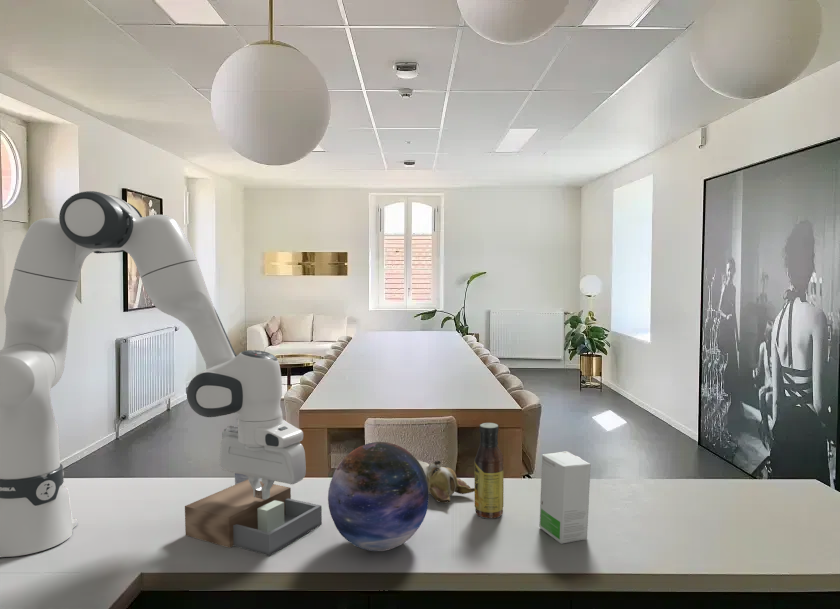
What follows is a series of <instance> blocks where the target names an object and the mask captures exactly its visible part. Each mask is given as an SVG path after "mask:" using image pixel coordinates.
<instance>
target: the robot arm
mask: <svg viewBox="0 0 840 609" xmlns="http://www.w3.org/2000/svg"><path fill="white" fill-rule="evenodd" d="M58 216H59V217H58V218H57V217H44V218H40V219H36V220H35V221H34V222H32V223H31V224H30V226H29V228H28V229H27V231H26V233H25V235H24V238H23V239H22V242H21V244H20V247H19V250H18V253H17V256H16V258H15V263H14V266H13V269H12V275H11V277H10V282H9V287H8V290H7V295H6V298H5V299H6V300H5V304H4V306H3V307H4V309H3V310H4V315H5V339H4V343H3V347H2V349H0V558H5V557H6V558H7V557H19V556H25V555H31V554H34V553H38V552H42V551H45V550H49V549H50V548H53V547H56V546H58V545H60V544H62V543H63V542H66V541H67V540H68V539H69V538H70V537H72V534H73V531H74V529H75V527H76V526H78V524H79V523H78V522H79V521H78V518H75V517H73V514H72V507H71V506H72V505H71V499H70V492H69V488H68V487H66V486H64V485H63V484H64V483H65V482H64V480H65V479H64V476H65V471H64V467H63V464H61V455H60V454H61V452H60V451H61V450H60V448H61V447H60V428H59V424H58V422H57V421H56V418H55V413H54V410H53V405H52V399H51V389H52V388H53V387H55V386H56V385H57V384H58V383H59V382H60V380H61V379H62V377H63V373H64V370H65V364H66V362H65V361H66V357H67V350H68V339H69V338H68V337H69V327H70V320H71V314H72V310H73V307H74V301H75V297H76V294H77V289H78V284H79V280H80V276H81V272H82V269H83V265H84V262H85V260H86V259H87V257H88V256H89V255H90V254H92V253H94V254H109V253H110V254H111V253H112V254H113V253H114V254H115V253H124V252H126V253H127V254H129V255H130V258H132V259H133V260H132V261H133V262H134V263H135V267H136V268H137V269H136V270H137V272H138V273H139V277H140V279H141V282H142V286H143V287H144V290H145V292H146V293H147V296H148V297H149V299H150V301H151V303H152V304H153V306H155V308H156V309H157V310H158V311H160V312H162V313H164V314H166V315H168V316H171V317H172V318H175V319H177V320H178V321H179V322H181V323H183V324H184V325H185V326H186V328H188V329H189V331H190V333H191V335H192V337H193V339H194V340H195V343H196V345H197V347H198V350H199V352H200V354H201V356H202V358H203V361H204V362H205V367H206V369H205V370H202V371H201V372H199V373H198V374H196V375H195V376H194V377H193V378H192V379H191V380H190V382H189V383H188V386H187V390H186V400H187V403H188V405H189V406H190V408H191V409H192V410H193V412H195V413H196V414H198V416H200V417H201V416H202V417H205V418H217V417H222V416H228V415H231V414H236V415H237V416H236V417H237V426H234V425H228V426H227V427H225V428H224V429H223V431H222V433H221V437H222V438H221V442H220V447H219V458H218V459H219V460H218V461H219V467H220V469H221V471H225V472H229V473H234V474H235V473H238V474H243V475H248V480H249V483H250V485H251V487H252V489H253V496H254V497H256V498H260V499H265V500H266V499H268V498H269V497H270V489H271V487H272V485H273V484H275V482H278V483H284V484H287V485H295V484H297V483H299V482H302V481H303V479H304V478H305V476H306V474H307V473H306V472H307V469H306V468H307V467H306V466H307V465H306V464H307V463H306V452H305V449H304V448H305V447H304V446H303V444H302V443H301V441H303V440H304V432H303V430H302V429H300V428H298V427H297V426H294V425H293V424H291V423H289V422H288V421H286V420H285V419H284V418H283V410H282V407H281V399H282V396H283V385H282V384H283V382H282V372H281V366H280V361H279V359H278V358H277V357H276V356H275V355H274V354H272V353H270V352H267V351H264V350H263V351H262V350H256V349H254V350H252V349H249V350H243V351H241V352H239V353H238V354H237V353H236V352H235V349H234V348H233V346H232V343H231V341H230V339H229V337H228V334H227V332H226V330H225V328H224V326H223V324H222V321H221V318H220V316H219V314H218V313H217V310H216V309H215V306H214V303H213V301H212V298H211V296H210V294H209V290H208V288H207V285H206V281H205V279H204V276H203V273H202V271H201V268H200V265H199V261H198V259H197V257H196V254H195V252H194V250H193V248H192V245H191V244H190V242H189V239H188V237H187V235H186V234H185V233H184V232H185V231H183V229H182V227H181V226H180V224H179V222H177V220H176V219H174V218H173V216H172V217H171V216H169V215H165V214H151V215H147V216H143V215H142V214H141V212H140V211H139V210H138V208H136V207H135V206H134V205H133V204H131V203H129V202H126V201H125V200H123V199H121V198H120V197H117V196H116V195H110V194H105V193H103V192H100V191H91V190H89V191H81V192H77V193H74V194H73V195H71V196H70V197H69V198H67V200H65V201H64V202H63V204H62V206H61V208H60V210H59V214H58ZM259 478H262V483H265V484H264V486H263V487H262V486H261V484H260V481H259Z"/></svg>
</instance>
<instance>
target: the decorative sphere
mask: <svg viewBox="0 0 840 609" xmlns="http://www.w3.org/2000/svg"><path fill="white" fill-rule="evenodd" d="M417 460H418V459H417V458H416V457H415V456H414V455H413V454H412V453H411V452H410V451H408V450H407V449H406V448H404V447H402V446H400V445H398V444H396V443H392V442H387V441H376V442H368V443H366V444H362V445H360V446H357V448H355V449H353V450H352V451H350V452H349V453H348V454H347V455H346V456H344V458H343V459H342V460H341V461H340V462H339V463H338V465H337V467H336V469H335V470H334V472H333V475H332V476H331V477H332V478H331V480H330V483H329V487H328V490H327V491H328V494H327V504H328V510H329V514H330V517H331V519H332V522H333V524H334V526H335V528H336V529H337V531H338V533H339V534H340V536H342V537H343V538H344V539H345V540H346V541H347V542H349V543H351V544H352V545H354V546H355V547H357V548H360V549H363V550H365V551H370V552H384V551H391V549H392V550H393V549H395V548H398V547H400V546H401V545H403V544H404V543H406V542H407V541H409V540H410V539H411V538H413V536H414V534H415V533H416V532H417V531H418V530H419V528H420V526H421V525H422V524H423V522H424V520H425V518H426V514H427V513H428V508H429V498H430V497H429V496H430V495H429V494H430V493H429V491H428V482H427V478H426V475H425V472H424V470H423V468H422V466H421V465H420V463H419V462H418V461H417Z"/></svg>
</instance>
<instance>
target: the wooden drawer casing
mask: <svg viewBox="0 0 840 609" xmlns="http://www.w3.org/2000/svg"><path fill="white" fill-rule="evenodd" d="M260 484H261V486H262V487H263V486H264V484H265V483H262V482H261V481H260ZM291 491H292V490H291V487H289V486H284V485H281V484H275V483H273V485H272V487H271V489H270V497H269V498H268V499H266V500H265V499H260V498H256V497H254V496H253V489H252V487H251V485H250V483H249V480H245V481H243V482H240V483H238V484H236V485H235V484H234V485H230V486H229V487H226V488H224V489H221V490H220V491H217V492H215V493H212V494H210V495H208V496H205V497H203V498H200V499H198V500H196V501H193V502H192V503H189V504H186V505H185V506H184V522H185V524H184V526H185V527H184V528H185V532H184V533H185V534H184V535H185V536H186V537H190V538H193V539H198V540H201V541H204V542H208V543H211V544H215V545H218V546H223V547H224V548H225V547H226V548H229V549H230V548H232V547H235V546H234V543H233V525H235V524H238V525H242V526H246V527H250V528H253V529H257V530H258V510H257V508H259V507H261V506H264V505H266V504H268V503H270V502H272V501H274V500H276V501H280V502H284V516H285V499H287V498H289V499H292V495H291V494H292V493H291Z"/></svg>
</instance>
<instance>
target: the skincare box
mask: <svg viewBox="0 0 840 609" xmlns="http://www.w3.org/2000/svg"><path fill="white" fill-rule="evenodd" d="M590 481H591V463H590V462H587V461H586V460H584V459H582V458H581V457H580V456H578V455H574V454H573V453H571V452H570V451H565V450H564V451H559V452H552V453H551V452H550V453H544V454H543V453H542V454H541V478H540V501H539V503H540V504H539V528H540V529H541V530H542V531H543V532H545V533H547V534H548V535H549V536H550V537H551V538H552V539H555V541H556V542H558V543H559V544H560V545H561V544H569V543H573V542H578V541H584V540H587V539H588V530H589V528H588V526H589V525H588V524H589V504H590V486H591V485H590V484H591V482H590Z"/></svg>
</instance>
